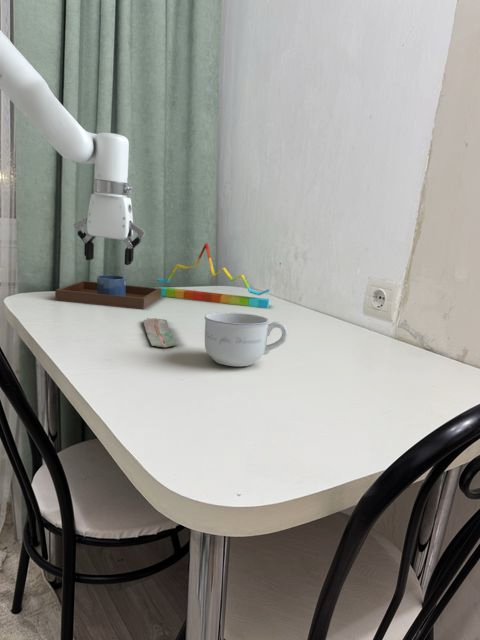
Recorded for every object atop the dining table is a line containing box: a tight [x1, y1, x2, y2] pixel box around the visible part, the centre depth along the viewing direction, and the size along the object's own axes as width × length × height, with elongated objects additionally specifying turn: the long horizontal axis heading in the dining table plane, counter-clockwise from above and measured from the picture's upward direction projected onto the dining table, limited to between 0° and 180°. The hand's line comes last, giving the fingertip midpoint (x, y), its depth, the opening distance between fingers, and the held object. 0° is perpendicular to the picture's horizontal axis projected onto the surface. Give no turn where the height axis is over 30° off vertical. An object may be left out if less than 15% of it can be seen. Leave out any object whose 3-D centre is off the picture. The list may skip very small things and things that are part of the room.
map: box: [143, 317, 179, 348], centre depth 99 cm, size 5×20×1 cm, turn 17°
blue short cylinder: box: [96, 274, 127, 296], centre depth 126 cm, size 7×7×5 cm
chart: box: [156, 242, 271, 309], centre depth 134 cm, size 30×3×15 cm, turn 82°
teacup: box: [204, 311, 289, 367], centre depth 85 cm, size 14×11×8 cm
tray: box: [54, 280, 162, 310], centre depth 127 cm, size 21×15×2 cm
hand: (108, 262), depth 124 cm, fingers open, 9 cm apart
